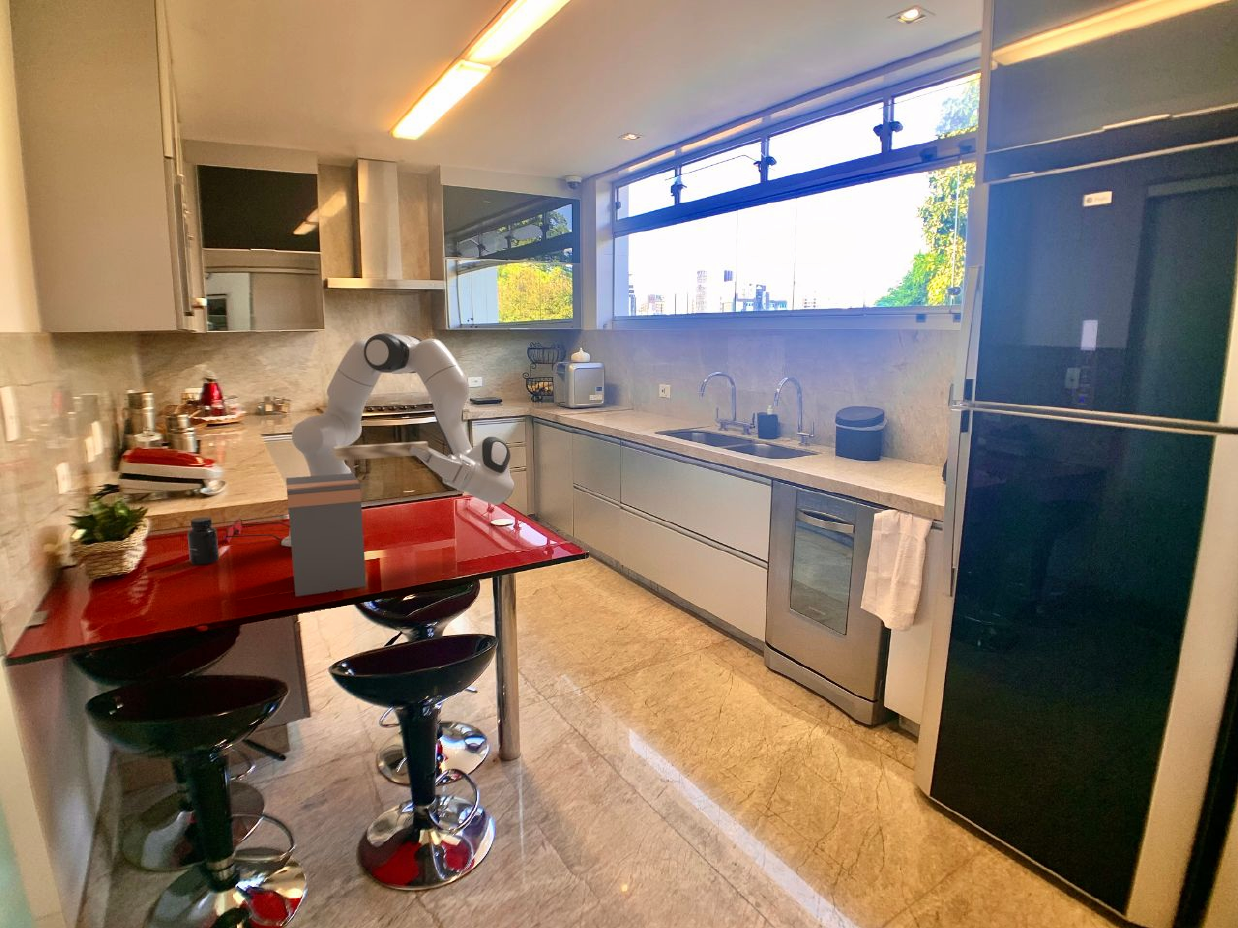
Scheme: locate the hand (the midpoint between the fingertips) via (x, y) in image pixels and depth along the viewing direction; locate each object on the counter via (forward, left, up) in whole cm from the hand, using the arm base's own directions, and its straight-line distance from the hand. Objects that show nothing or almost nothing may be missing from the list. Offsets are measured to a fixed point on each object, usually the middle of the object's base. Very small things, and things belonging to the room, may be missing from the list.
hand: (408, 447), depth 171 cm
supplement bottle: (-61, -3, -34) cm, 70 cm away
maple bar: (-5, -4, -2) cm, 7 cm away
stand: (-19, -9, -34) cm, 40 cm away
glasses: (-63, +21, -35) cm, 75 cm away
